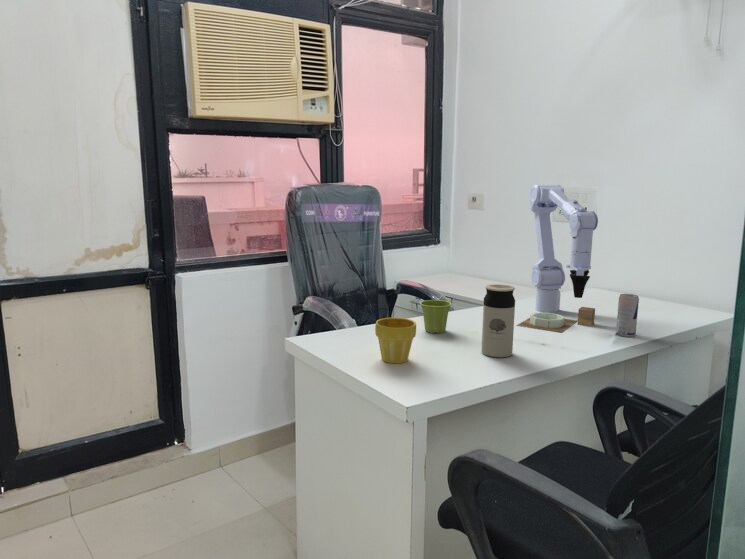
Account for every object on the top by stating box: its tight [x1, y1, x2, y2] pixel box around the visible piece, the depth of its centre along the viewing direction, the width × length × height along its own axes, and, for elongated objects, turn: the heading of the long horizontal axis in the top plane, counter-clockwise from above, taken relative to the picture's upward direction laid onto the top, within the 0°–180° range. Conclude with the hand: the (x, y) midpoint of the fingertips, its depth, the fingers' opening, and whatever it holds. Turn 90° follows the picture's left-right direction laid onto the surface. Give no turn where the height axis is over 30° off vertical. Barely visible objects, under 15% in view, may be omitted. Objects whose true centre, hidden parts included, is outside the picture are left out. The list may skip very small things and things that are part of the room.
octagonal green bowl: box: [529, 312, 566, 328], centre depth 172 cm, size 10×10×2 cm
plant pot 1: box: [374, 317, 417, 364], centre depth 139 cm, size 10×10×10 cm
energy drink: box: [615, 293, 640, 338], centre depth 163 cm, size 5×5×12 cm
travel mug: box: [481, 283, 516, 359], centre depth 144 cm, size 8×8×18 cm
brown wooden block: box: [577, 306, 596, 327], centre depth 172 cm, size 4×4×6 cm
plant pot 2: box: [419, 299, 452, 334], centre depth 166 cm, size 9×9×9 cm
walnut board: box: [515, 317, 578, 334], centre depth 173 cm, size 18×14×1 cm
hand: (578, 295), depth 170 cm, fingers open, 7 cm apart
